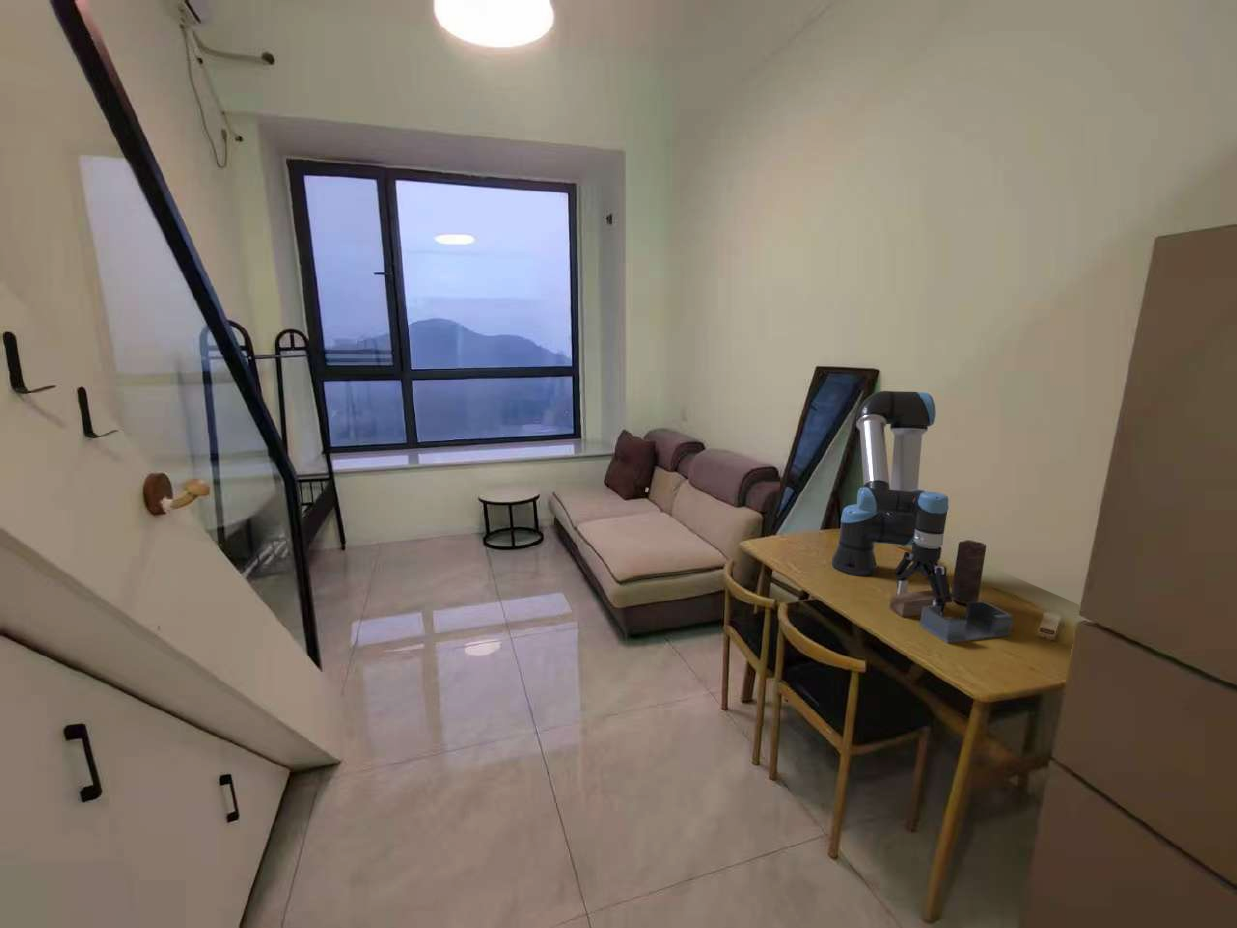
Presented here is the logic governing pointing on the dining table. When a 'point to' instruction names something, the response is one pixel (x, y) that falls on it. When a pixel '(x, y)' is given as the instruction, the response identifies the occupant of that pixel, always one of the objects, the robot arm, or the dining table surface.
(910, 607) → the rail bar
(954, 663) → the dining table surface
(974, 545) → the candle
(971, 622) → the bracket plate
